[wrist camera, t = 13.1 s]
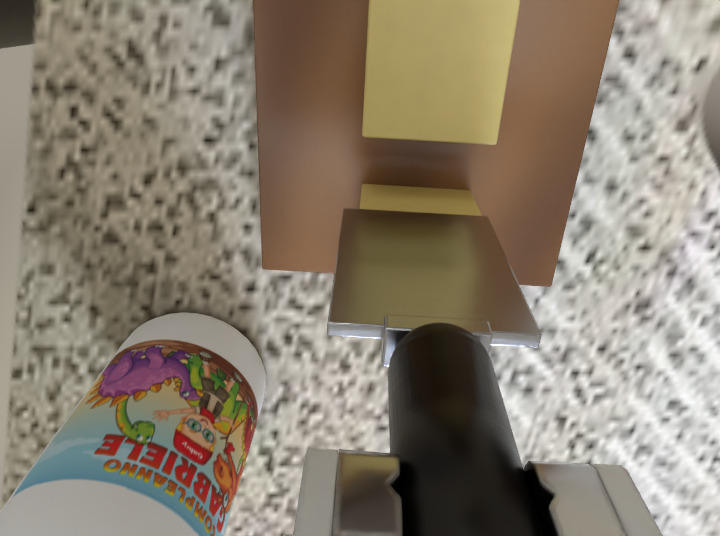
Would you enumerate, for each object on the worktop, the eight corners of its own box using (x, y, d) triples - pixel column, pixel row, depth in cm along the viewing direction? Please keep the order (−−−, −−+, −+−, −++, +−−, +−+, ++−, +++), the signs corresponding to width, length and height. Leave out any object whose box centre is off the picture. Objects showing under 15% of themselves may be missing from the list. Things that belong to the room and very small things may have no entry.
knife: (342, 241, 19) (260, 880, 6) (344, 182, 18) (251, 793, 5) (482, 249, 19) (732, 906, 6) (492, 191, 18) (828, 827, 5)
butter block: (364, 116, 21) (361, 137, 18) (374, -62, 18) (373, -74, 15) (479, 123, 21) (496, 145, 18) (506, -55, 18) (531, -65, 15)
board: (268, 255, 26) (261, 269, 24) (253, -245, 18) (243, -264, 16) (542, 272, 26) (551, 287, 24) (654, -224, 18) (677, -242, 16)
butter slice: (359, 232, 23) (355, 268, 20) (362, 183, 22) (358, 213, 19) (463, 238, 23) (476, 275, 20) (470, 189, 22) (485, 220, 19)
